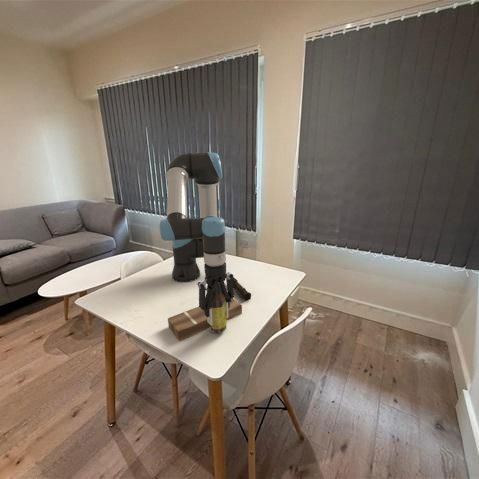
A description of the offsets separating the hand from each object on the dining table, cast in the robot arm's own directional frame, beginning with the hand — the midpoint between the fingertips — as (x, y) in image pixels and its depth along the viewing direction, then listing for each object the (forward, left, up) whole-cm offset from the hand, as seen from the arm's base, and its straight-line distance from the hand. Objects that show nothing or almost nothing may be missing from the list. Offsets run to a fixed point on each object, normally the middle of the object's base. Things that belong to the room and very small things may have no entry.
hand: (217, 319), depth 97 cm
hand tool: (-19, +23, -5) cm, 31 cm away
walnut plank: (-9, 0, -5) cm, 10 cm away
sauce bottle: (0, 0, -4) cm, 4 cm away
